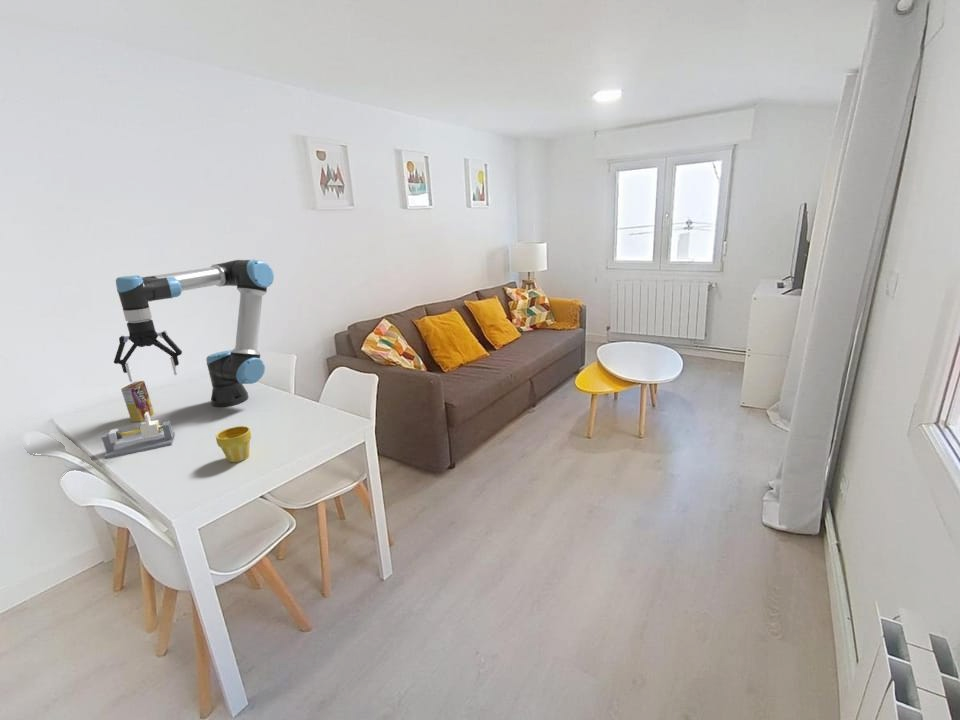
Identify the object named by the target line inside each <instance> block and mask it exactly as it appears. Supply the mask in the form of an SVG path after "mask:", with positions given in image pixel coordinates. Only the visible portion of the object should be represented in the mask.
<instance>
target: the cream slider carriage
mask: <svg viewBox="0 0 960 720" xmlns="http://www.w3.org/2000/svg"><path fill="white" fill-rule="evenodd" d="M144 417H145V419H144V421H145V422H142V423H140V426H139V429H140V430H141V436H142V439H143V438H148V437H153V436H158V435H161V431H162V428H161V429H158V426H160V422H159V421H160V420H159V419H155V420H151V415H149V412H146V413H145V415H144Z"/></svg>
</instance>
